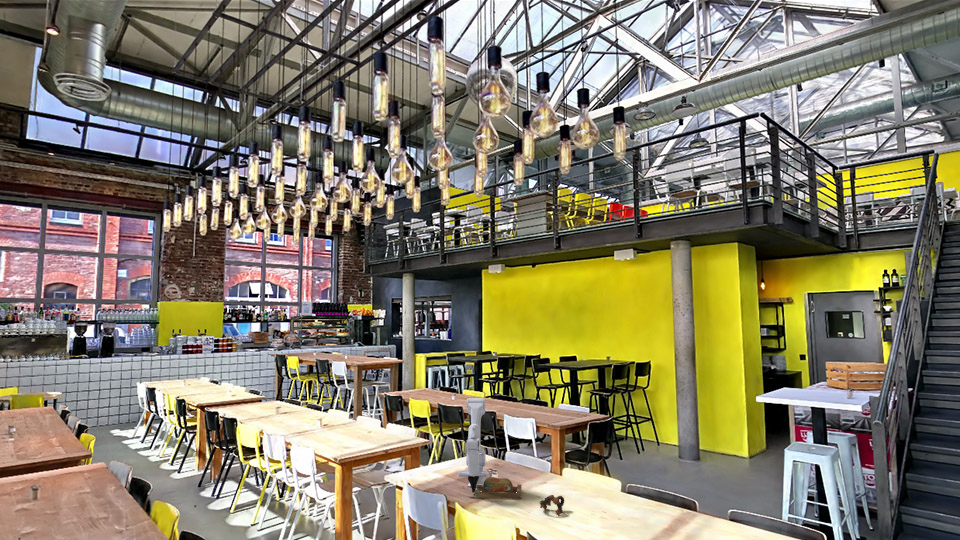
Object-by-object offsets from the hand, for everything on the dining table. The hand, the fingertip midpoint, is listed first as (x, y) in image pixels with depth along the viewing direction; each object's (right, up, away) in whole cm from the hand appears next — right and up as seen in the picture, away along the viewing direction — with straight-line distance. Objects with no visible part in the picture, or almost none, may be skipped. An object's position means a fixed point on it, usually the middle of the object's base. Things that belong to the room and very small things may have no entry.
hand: (473, 491), depth 259 cm
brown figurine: (+36, +2, -25) cm, 44 cm away
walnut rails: (+11, -1, -1) cm, 11 cm away
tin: (+12, -1, -2) cm, 12 cm away
